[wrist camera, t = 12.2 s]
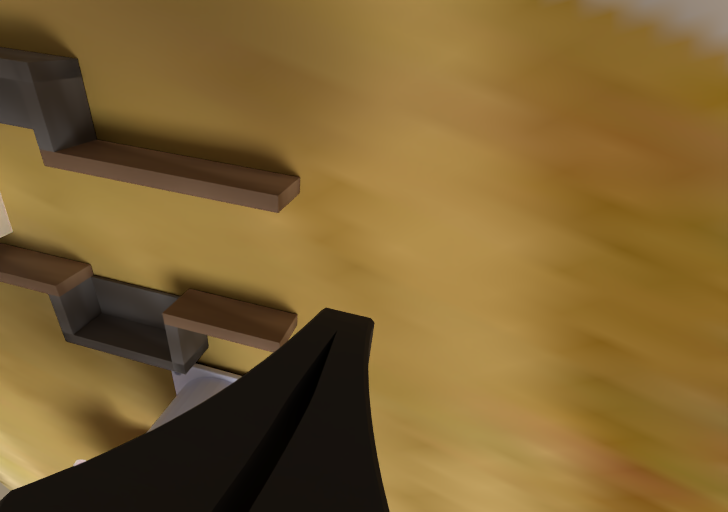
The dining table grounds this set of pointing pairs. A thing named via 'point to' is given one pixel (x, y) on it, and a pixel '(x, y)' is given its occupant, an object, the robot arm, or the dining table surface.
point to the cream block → (4, 220)
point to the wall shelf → (142, 167)
